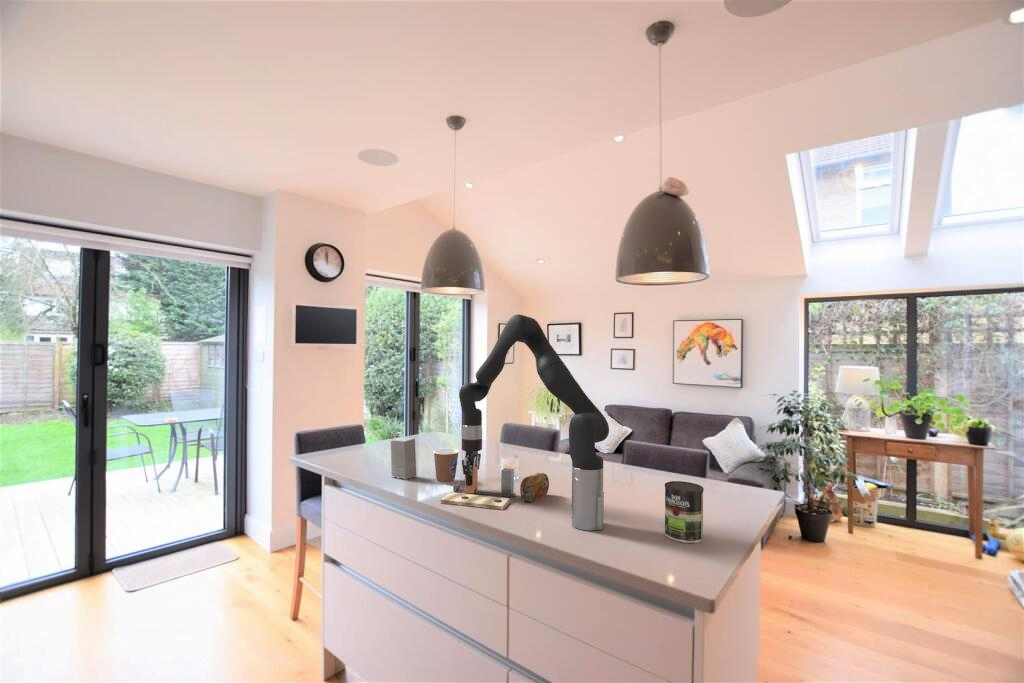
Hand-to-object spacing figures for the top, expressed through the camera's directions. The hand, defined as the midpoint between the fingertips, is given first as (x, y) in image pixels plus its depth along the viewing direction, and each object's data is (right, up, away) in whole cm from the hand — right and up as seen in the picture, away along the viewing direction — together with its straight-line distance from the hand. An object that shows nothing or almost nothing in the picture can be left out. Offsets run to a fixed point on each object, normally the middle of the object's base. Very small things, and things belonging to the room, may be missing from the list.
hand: (471, 483), depth 170 cm
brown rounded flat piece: (+23, -3, -7) cm, 24 cm away
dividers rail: (+6, -3, -2) cm, 7 cm away
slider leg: (0, -3, 0) cm, 3 cm away
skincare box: (-30, -4, +20) cm, 36 cm away
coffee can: (+63, -2, -40) cm, 75 cm away
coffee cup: (-12, -4, +15) cm, 19 cm away
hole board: (+3, -2, -12) cm, 13 cm away
